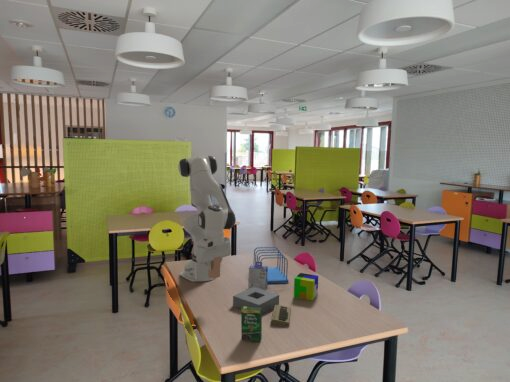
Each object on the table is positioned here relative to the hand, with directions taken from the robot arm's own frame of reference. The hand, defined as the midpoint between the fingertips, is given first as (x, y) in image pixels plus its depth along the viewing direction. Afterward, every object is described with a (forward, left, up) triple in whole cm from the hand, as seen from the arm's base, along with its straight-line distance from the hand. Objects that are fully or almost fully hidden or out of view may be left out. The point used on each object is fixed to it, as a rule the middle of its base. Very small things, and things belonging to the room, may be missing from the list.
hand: (214, 268), depth 171 cm
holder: (+15, +14, -19) cm, 28 cm away
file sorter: (-5, +52, -19) cm, 55 cm away
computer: (+32, +11, -19) cm, 39 cm away
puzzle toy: (+27, +41, -19) cm, 53 cm away
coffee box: (+34, -13, -19) cm, 41 cm away
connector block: (0, 0, -4) cm, 4 cm away
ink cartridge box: (+2, +32, -19) cm, 37 cm away
